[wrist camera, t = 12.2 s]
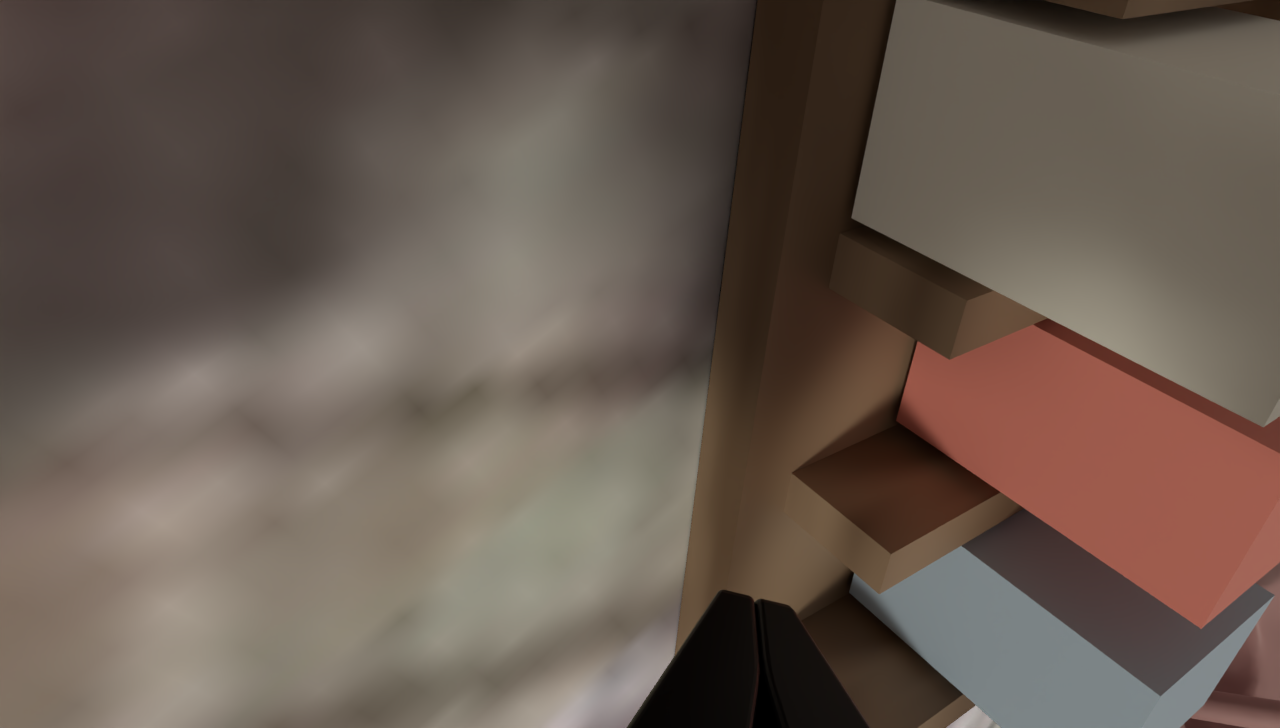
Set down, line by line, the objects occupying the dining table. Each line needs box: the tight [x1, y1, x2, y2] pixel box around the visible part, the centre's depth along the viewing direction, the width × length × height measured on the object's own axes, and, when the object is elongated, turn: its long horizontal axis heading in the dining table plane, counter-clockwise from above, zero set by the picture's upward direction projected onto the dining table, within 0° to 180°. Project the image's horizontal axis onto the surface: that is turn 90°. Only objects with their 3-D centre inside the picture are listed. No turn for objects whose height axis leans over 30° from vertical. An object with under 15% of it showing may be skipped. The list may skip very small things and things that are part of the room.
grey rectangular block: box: [849, 508, 1275, 728], centre depth 23 cm, size 5×4×8 cm
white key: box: [851, 0, 1280, 427], centre depth 15 cm, size 5×4×8 cm
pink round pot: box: [1180, 562, 1280, 728], centre depth 37 cm, size 12×12×11 cm
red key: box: [896, 318, 1280, 629], centre depth 20 cm, size 5×4×8 cm
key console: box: [675, 0, 1280, 728], centre depth 21 cm, size 12×19×6 cm, turn 176°
